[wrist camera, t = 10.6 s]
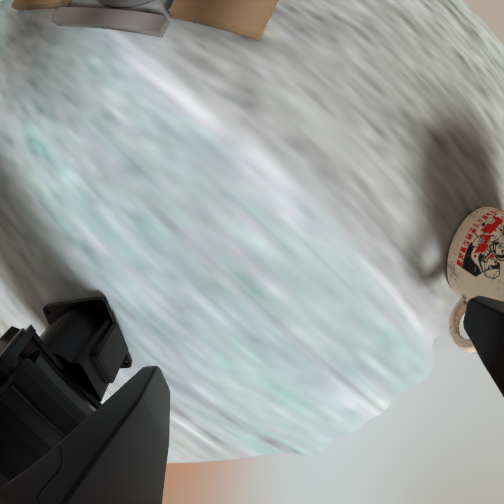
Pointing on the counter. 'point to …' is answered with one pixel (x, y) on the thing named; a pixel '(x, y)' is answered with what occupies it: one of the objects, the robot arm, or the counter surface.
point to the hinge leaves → (184, 8)
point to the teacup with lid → (476, 264)
